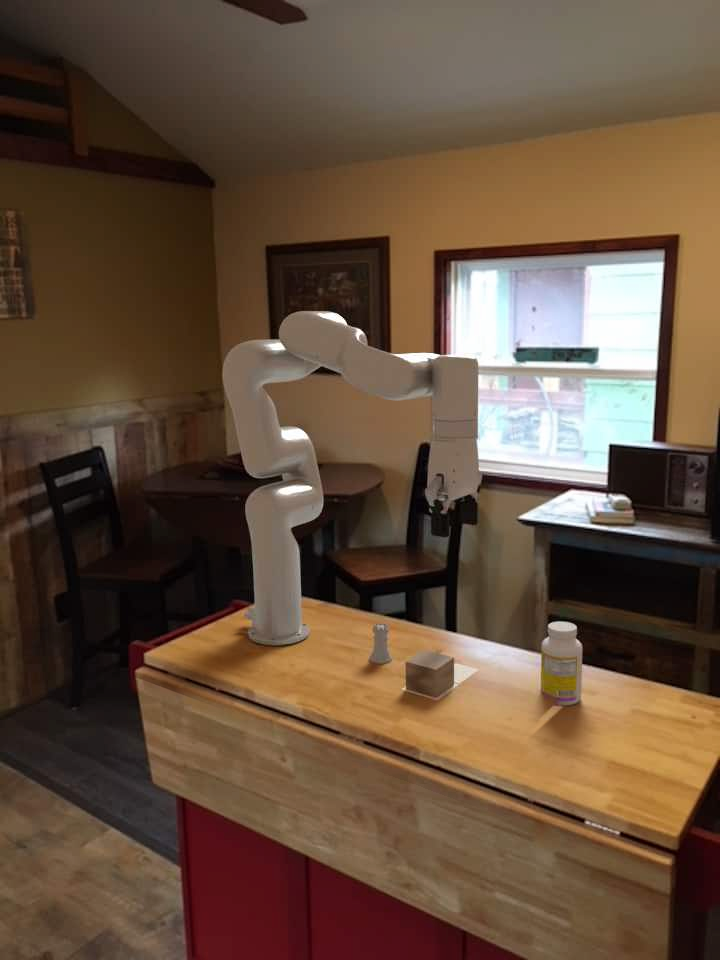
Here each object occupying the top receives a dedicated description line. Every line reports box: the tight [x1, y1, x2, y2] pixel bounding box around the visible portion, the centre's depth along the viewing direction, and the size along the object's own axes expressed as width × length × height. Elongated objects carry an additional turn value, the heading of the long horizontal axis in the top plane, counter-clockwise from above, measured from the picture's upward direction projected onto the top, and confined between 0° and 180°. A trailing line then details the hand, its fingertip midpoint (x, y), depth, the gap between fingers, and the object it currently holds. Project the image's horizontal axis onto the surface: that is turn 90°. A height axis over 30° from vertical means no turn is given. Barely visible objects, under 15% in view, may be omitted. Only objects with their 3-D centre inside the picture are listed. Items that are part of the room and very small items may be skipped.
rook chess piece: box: [369, 622, 393, 665], centre depth 150 cm, size 4×4×8 cm
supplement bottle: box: [540, 621, 583, 707], centre depth 135 cm, size 7×7×13 cm
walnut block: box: [405, 649, 455, 698], centre depth 138 cm, size 6×6×5 cm
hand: (454, 529), depth 137 cm, fingers open, 9 cm apart
